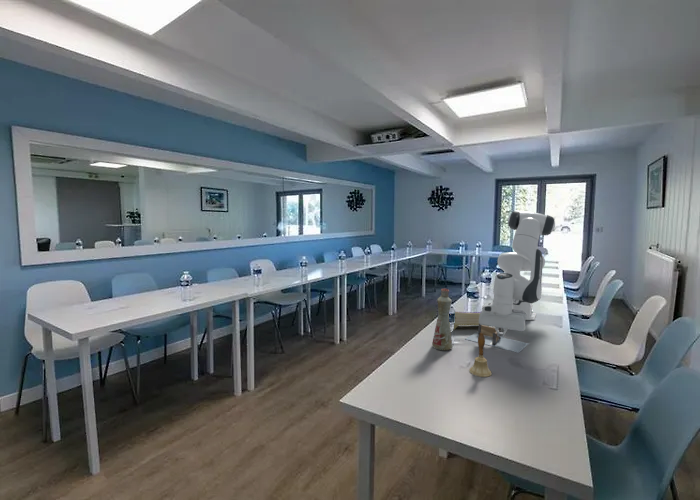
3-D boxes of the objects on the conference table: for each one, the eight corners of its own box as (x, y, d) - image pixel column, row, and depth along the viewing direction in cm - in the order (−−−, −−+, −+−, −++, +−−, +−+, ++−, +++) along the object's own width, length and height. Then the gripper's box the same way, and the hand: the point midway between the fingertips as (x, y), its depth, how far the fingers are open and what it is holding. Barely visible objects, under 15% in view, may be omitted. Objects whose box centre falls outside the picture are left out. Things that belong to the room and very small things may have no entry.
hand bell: (477, 378, 136) (479, 337, 134) (464, 369, 144) (466, 330, 142) (496, 375, 138) (498, 335, 136) (482, 366, 146) (484, 328, 144)
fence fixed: (478, 333, 186) (479, 322, 185) (501, 338, 178) (501, 327, 178) (477, 334, 184) (478, 323, 184) (499, 339, 177) (500, 327, 176)
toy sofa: (483, 325, 201) (484, 307, 199) (490, 330, 192) (491, 311, 191) (446, 325, 199) (447, 307, 198) (452, 330, 190) (452, 312, 189)
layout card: (477, 331, 188) (477, 331, 188) (528, 343, 172) (528, 343, 172) (465, 339, 177) (465, 338, 177) (518, 352, 161) (518, 352, 161)
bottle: (453, 352, 161) (455, 290, 158) (432, 350, 162) (434, 289, 159) (451, 345, 169) (454, 286, 166) (431, 343, 171) (433, 285, 168)
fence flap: (496, 338, 177) (496, 328, 177) (499, 339, 176) (500, 329, 176) (491, 344, 170) (492, 333, 169) (495, 345, 169) (495, 334, 168)
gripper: (527, 309, 166) (525, 338, 168) (481, 303, 176) (479, 330, 178) (526, 313, 161) (524, 342, 162) (478, 306, 171) (477, 334, 173)
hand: (500, 336), depth 170 cm, fingers closed
